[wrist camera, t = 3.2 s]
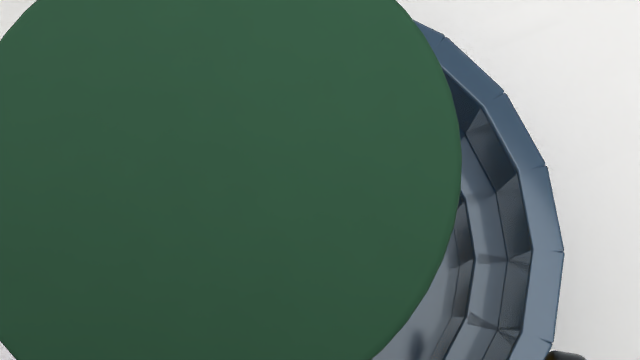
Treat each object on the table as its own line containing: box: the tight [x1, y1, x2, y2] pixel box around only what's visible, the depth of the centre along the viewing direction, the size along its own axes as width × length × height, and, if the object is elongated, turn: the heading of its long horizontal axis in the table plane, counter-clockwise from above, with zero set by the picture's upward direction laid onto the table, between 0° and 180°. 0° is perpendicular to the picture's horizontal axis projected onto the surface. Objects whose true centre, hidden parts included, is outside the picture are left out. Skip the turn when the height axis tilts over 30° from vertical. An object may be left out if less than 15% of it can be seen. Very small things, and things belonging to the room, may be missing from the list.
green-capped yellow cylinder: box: [0, 0, 462, 360], centre depth 12 cm, size 6×6×11 cm
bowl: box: [372, 20, 564, 360], centre depth 15 cm, size 12×12×5 cm
